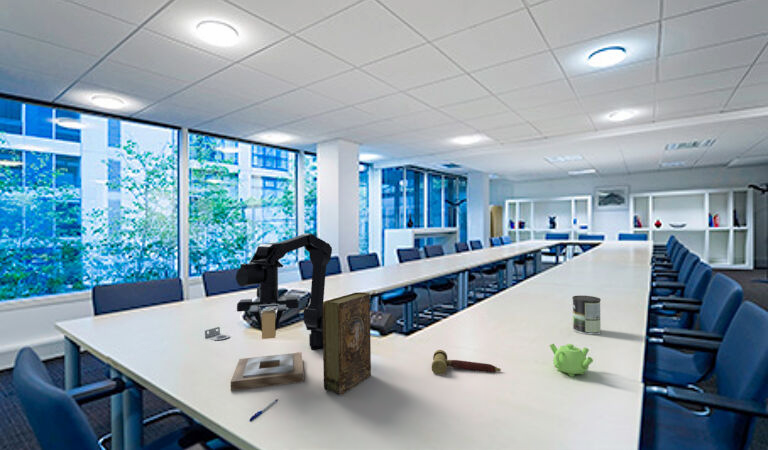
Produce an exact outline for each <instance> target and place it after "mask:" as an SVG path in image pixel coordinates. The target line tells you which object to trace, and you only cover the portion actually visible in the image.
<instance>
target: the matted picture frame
mask: <svg viewBox="0 0 768 450" xmlns="http://www.w3.org/2000/svg"><path fill="white" fill-rule="evenodd" d="M302 353H303V352H293V353H284V354H274V355H264V356H254V357H244V358H239V359H238V362H237V365H236V367H235V369H234V371H233V375H232V377H231V380H230V392H231V391H238V390H249V389H254V388H255V389H256V388H262V387H273V386H280V385H285V384H296V383H303V382H305V379H304V364H303V355H302ZM295 382H296V383H295Z"/></svg>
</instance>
